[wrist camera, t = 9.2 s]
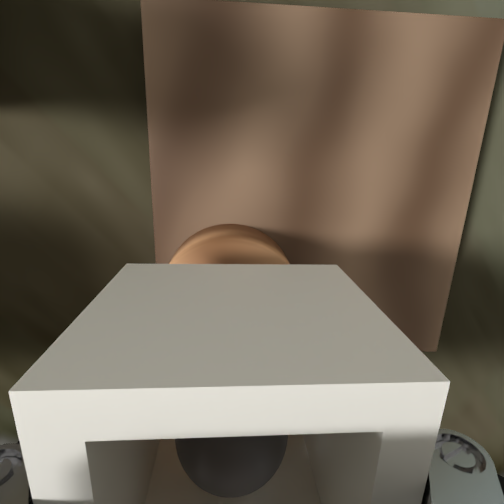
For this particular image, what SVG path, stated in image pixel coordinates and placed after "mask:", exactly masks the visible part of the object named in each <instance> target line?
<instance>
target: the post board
mask: <svg viewBox="0 0 504 504" xmlns="http://www.w3.org/2000/svg"><path fill="white" fill-rule="evenodd" d="M140 1H141V18H142V35H143V52H144V69H145V86H146V103H147V120H148V137H149V154H150V171H151V188H152V205H153V222H154V239H155V256H156V264H306V265H338V266H339V267H340V268H341V269H342V270H343V272H344V273H345V274H346V275H347V276H348V277H349V278H350V279H351V280H352V281H353V282H354V283H355V284H356V285H357V286H358V287H359V288H360V289H361V290H362V291H363V292H364V293H365V294H366V295H367V296H368V297H369V298H370V299H371V300H372V301H373V302H374V303H375V304H376V306H377V307H378V308H379V309H380V310H381V311H382V312H383V313H384V314H385V315H386V316H387V317H388V318H389V319H390V320H391V321H392V322H393V323H394V324H395V325H396V326H397V327H398V328H399V329H400V330H401V331H402V332H403V333H404V334H405V335H406V336H407V337H408V338H409V339H410V341H411V342H412V343H413V344H414V345H415V346H416V347H417V348H418V349H419V350H420V351H421V352H430V351H437V346H438V342H439V337H440V333H441V328H442V324H443V319H444V314H445V310H446V305H447V301H448V296H449V291H450V287H451V282H452V278H453V273H454V268H455V264H456V259H457V255H458V250H459V245H460V241H461V236H462V232H463V227H464V222H465V218H466V213H467V209H468V204H469V199H470V195H471V190H472V186H473V181H474V176H475V172H476V167H477V163H478V158H479V153H480V149H481V144H482V140H483V135H484V130H485V126H486V121H487V117H488V112H489V107H490V103H491V98H492V94H493V89H494V84H495V80H496V75H497V71H498V66H499V61H500V57H501V52H502V48H503V43H504V19H498V18H483V17H467V16H452V15H436V14H421V13H405V12H389V11H374V10H358V9H343V8H327V7H312V6H296V5H280V4H265V3H249V2H234V1H218V0H140ZM287 441H288V435H266V436H236V437H207V438H177V439H175V445H176V450H177V455H178V458H179V461H180V463H181V465H182V467H183V469H184V471H185V472H186V474H187V475H188V477H189V478H190V479H191V480H192V481H193V482H194V483H195V484H196V485H197V486H198V487H199V488H201V489H202V490H204V491H206V492H208V493H210V494H212V495H215V496H218V497H224V498H236V497H241V496H245V495H248V494H250V493H252V492H254V491H256V490H258V489H259V488H261V487H262V486H264V485H265V484H266V483H267V482H268V481H269V480H270V479H271V478H272V476H273V475H274V474H275V472H276V471H277V469H278V468H279V466H280V464H281V462H282V460H283V457H284V454H285V451H286V447H287Z"/></svg>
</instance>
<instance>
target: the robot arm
mask: <svg viewBox="0 0 504 504" xmlns="http://www.w3.org/2000/svg"><path fill="white" fill-rule="evenodd" d="M0 504H33V500H32V496H31V491H30V487H29V482H28V478H27V473H26V469H25V464H24V460H23V455H22V451H21V446H20V441H18V443H9V444H3V445H0ZM421 504H504V477H502V476H500V475H498V474H497V472H496V469H495V466H494V463H493V461H492V459H491V457H490V455H489V454H488V453H487V452H486V450H485V449H484V448H483V447H482V446H481V445H479V444H478V443H477V442H476V441H474V440H473V439H471V438H469V437H468V436H466V435H464V434H461V433H459V432H456V431H453V430H448V429H439V431H438V435H437V439H436V444H435V448H434V452H433V456H432V460H431V465H430V469H429V473H428V477H427V481H426V486H425V490H424V494H423V498H422V502H421Z"/></svg>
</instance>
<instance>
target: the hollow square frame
mask: <svg viewBox="0 0 504 504" xmlns="http://www.w3.org/2000/svg"><path fill="white" fill-rule="evenodd" d="M449 385H450V381H449V380H448V379H447V378H446V377H445V376H444V375H443V373H442V372H441V371H440V370H439V369H438V368H437V367H436V366H435V365H434V364H433V363H432V362H431V361H430V360H429V359H428V358H427V357H426V356H425V355H424V354H423V353H422V352H421V351H420V350H419V349H418V348H417V347H416V346H415V345H414V344H413V343H412V342H411V341H410V339H409V338H408V337H407V336H406V335H405V334H404V333H403V332H402V331H401V330H400V329H399V328H398V327H397V326H396V325H395V324H394V323H393V322H392V321H391V320H390V319H389V318H388V317H387V316H386V315H385V314H384V313H383V312H382V311H381V310H380V309H379V308H378V307H377V306H376V304H375V303H374V302H373V301H372V300H371V299H370V298H369V297H368V296H367V295H366V294H365V293H364V292H363V291H362V290H361V289H360V288H359V287H358V286H357V285H356V284H355V283H354V282H353V281H352V280H351V279H350V278H349V277H348V276H347V275H346V274H345V273H344V272H343V270H342V269H341V268H340V267H339V266H338V265H306V264H126V265H125V266H124V267H123V268H122V269H121V270H120V271H119V272H118V274H117V275H116V276H115V277H114V278H113V279H112V280H111V281H110V282H109V283H108V284H107V285H106V287H105V288H104V289H103V290H102V291H101V292H100V293H99V294H98V295H97V296H96V297H95V298H94V299H93V301H92V302H91V303H90V304H89V305H88V306H87V307H86V308H85V309H84V310H83V311H82V312H81V314H80V315H79V316H78V317H77V318H76V319H75V320H74V321H73V322H72V323H71V324H70V325H69V327H68V328H67V329H66V330H65V331H64V332H63V333H62V334H61V335H60V336H59V337H58V338H57V339H56V341H55V342H54V343H53V344H52V345H51V346H50V347H49V348H48V349H47V350H46V351H45V352H44V354H43V355H42V356H41V357H40V358H39V359H38V360H37V361H36V362H35V363H34V364H33V365H32V367H31V368H30V369H29V370H28V371H27V372H26V373H25V374H24V375H23V376H22V377H21V378H20V379H19V381H18V382H17V383H16V384H15V385H14V386H13V387H12V388H11V389H10V390H9V391H8V392H9V396H10V401H11V405H12V410H13V414H14V419H15V423H16V428H17V432H18V437H19V441H20V446H21V451H22V455H23V460H24V464H25V469H26V473H27V478H28V482H29V487H30V491H31V496H32V500H33V504H421V502H422V498H423V494H424V490H425V486H426V481H427V477H428V473H429V469H430V465H431V460H432V456H433V452H434V448H435V444H436V439H437V435H438V431H439V427H440V423H441V419H442V414H443V410H444V406H445V402H446V398H447V393H448V389H449ZM266 435H288V441H287V447H286V451H285V454H284V457H283V460H282V462H281V464H280V466H279V468H278V469H277V471H276V472H275V474H274V475H273V476H272V478H271V479H270V480H269V481H268V482H267V483H266V484H265V485H264V486H262V487H261V488H259V489H258V490H256V491H254V492H252V493H250V494H248V495H245V496H241V497H236V498H224V497H218V496H215V495H212V494H210V493H208V492H206V491H204V490H202V489H201V488H199V487H198V486H197V485H196V484H195V483H194V482H193V481H192V480H191V479H190V478H189V477H188V475H187V474H186V472H185V471H184V469H183V467H182V465H181V463H180V461H179V458H178V455H177V450H176V445H175V439H177V438H207V437H236V436H266Z"/></svg>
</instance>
